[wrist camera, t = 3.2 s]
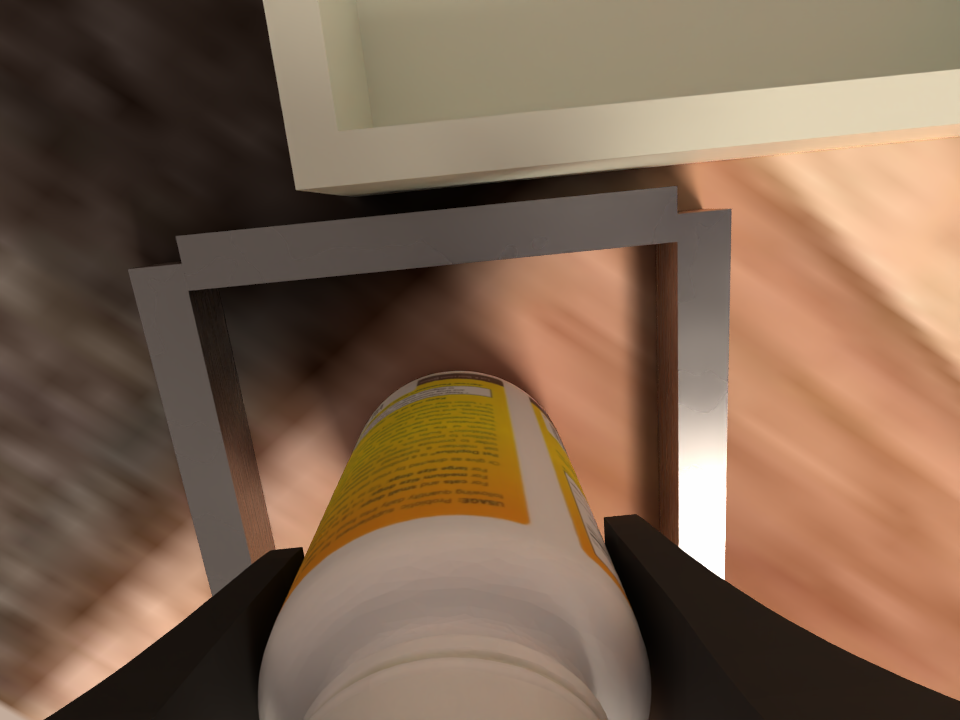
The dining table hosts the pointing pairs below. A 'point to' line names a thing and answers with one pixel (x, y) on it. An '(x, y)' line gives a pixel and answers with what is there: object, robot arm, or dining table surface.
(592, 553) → the supplement bottle
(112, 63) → the dining table surface
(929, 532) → the dining table surface
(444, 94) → the bin
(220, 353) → the socket collar
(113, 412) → the dining table surface
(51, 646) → the dining table surface
